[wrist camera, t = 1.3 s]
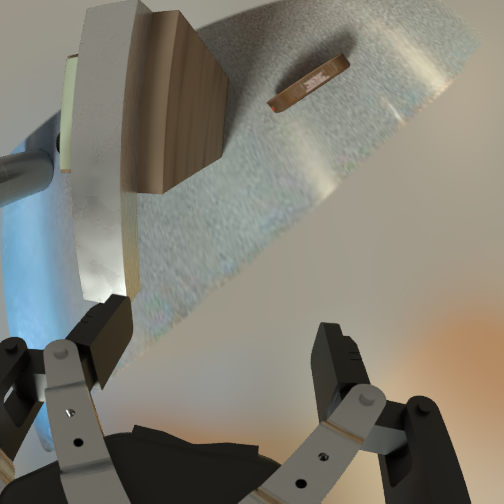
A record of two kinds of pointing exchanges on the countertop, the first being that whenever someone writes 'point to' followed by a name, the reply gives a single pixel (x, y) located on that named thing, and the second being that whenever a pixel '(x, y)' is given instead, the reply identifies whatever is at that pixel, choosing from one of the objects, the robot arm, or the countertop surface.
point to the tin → (309, 83)
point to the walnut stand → (168, 106)
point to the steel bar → (108, 147)
